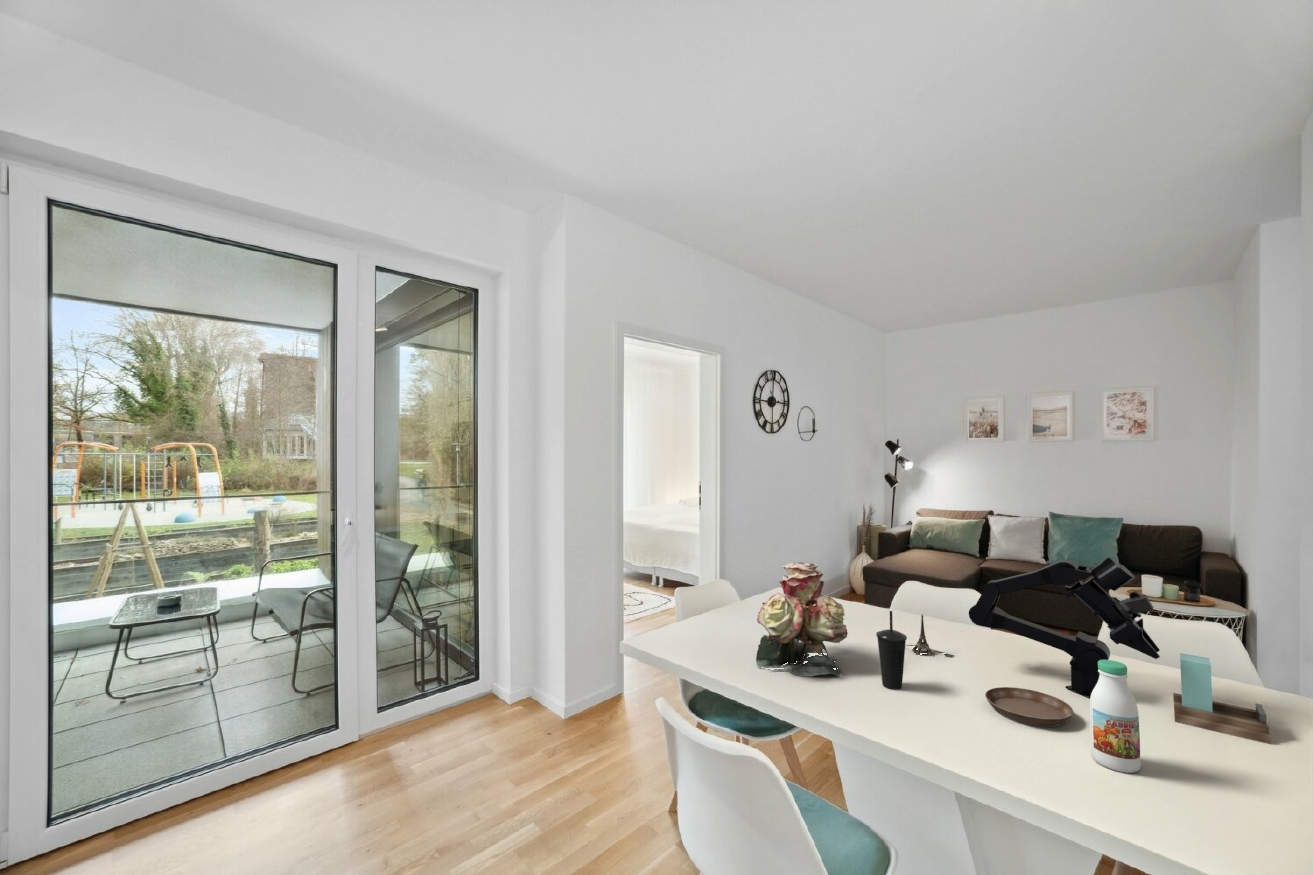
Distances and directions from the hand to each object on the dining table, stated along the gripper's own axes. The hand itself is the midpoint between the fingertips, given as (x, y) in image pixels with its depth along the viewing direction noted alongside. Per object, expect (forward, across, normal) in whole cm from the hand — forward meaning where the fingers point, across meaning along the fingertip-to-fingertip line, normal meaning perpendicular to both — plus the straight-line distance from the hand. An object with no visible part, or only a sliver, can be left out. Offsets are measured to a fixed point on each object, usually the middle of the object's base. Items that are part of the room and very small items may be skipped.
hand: (1158, 654), depth 135 cm
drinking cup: (-28, -30, +47) cm, 63 cm away
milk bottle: (+5, -38, +14) cm, 41 cm away
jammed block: (+13, 0, +4) cm, 13 cm away
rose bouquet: (-47, -30, +66) cm, 86 cm away
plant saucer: (-7, -24, +26) cm, 36 cm away
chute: (+16, 0, +2) cm, 17 cm away
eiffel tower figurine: (-29, +3, +49) cm, 57 cm away
